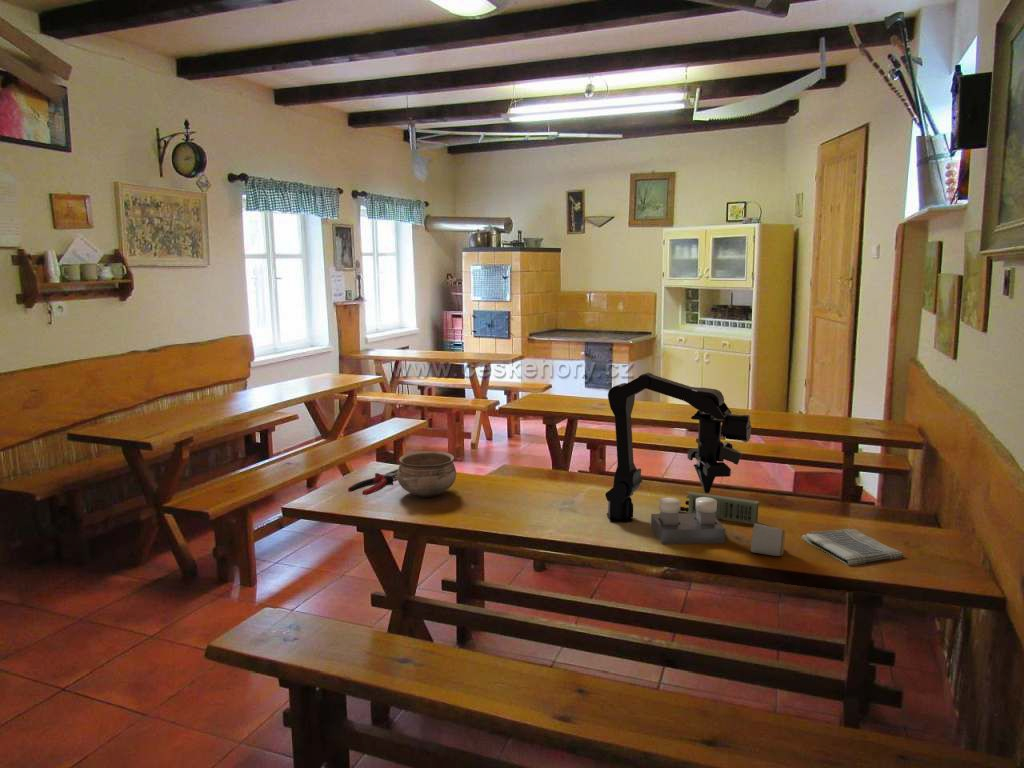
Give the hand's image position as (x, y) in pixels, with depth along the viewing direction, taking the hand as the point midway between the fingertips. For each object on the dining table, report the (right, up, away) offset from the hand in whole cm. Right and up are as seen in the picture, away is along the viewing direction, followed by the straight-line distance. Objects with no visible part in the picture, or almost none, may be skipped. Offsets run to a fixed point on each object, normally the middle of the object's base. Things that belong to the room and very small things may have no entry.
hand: (706, 492), depth 188 cm
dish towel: (+35, -14, -7) cm, 39 cm away
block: (+13, -14, -9) cm, 21 cm away
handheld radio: (+6, -10, +16) cm, 20 cm away
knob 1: (-10, -8, +1) cm, 13 cm away
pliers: (-98, -5, +48) cm, 109 cm away
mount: (-5, -12, +2) cm, 13 cm away
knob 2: (0, -8, +1) cm, 9 cm away
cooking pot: (-80, -7, +36) cm, 88 cm away
